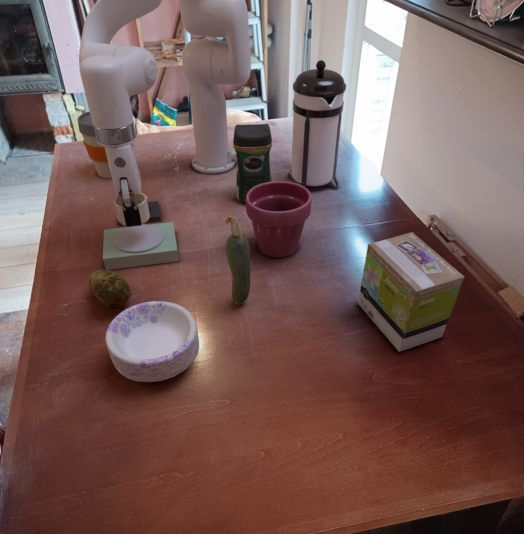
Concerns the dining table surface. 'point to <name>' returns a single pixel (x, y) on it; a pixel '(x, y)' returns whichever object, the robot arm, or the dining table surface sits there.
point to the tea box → (408, 290)
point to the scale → (139, 246)
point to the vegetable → (238, 261)
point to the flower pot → (278, 215)
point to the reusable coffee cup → (93, 145)
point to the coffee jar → (252, 157)
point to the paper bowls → (152, 341)
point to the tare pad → (153, 212)
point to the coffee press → (316, 126)
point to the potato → (110, 288)
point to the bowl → (141, 204)
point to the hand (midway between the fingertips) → (133, 215)
